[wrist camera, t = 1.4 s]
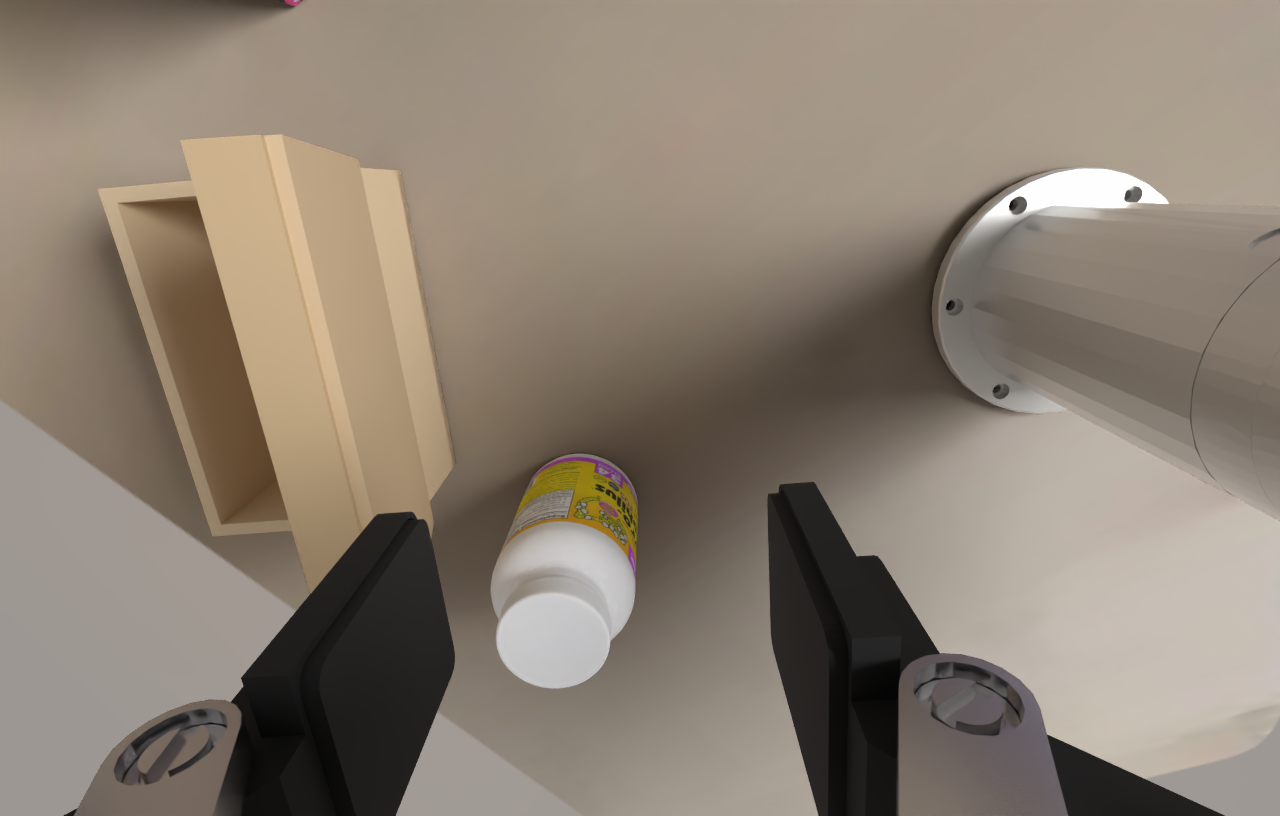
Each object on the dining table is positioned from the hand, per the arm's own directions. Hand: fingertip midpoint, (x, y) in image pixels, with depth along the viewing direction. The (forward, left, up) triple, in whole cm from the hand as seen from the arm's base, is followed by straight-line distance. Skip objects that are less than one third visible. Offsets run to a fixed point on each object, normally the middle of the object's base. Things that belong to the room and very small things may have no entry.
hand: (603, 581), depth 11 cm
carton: (+16, 0, -26) cm, 30 cm away
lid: (+11, 0, -13) cm, 17 cm away
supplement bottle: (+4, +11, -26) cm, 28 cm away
